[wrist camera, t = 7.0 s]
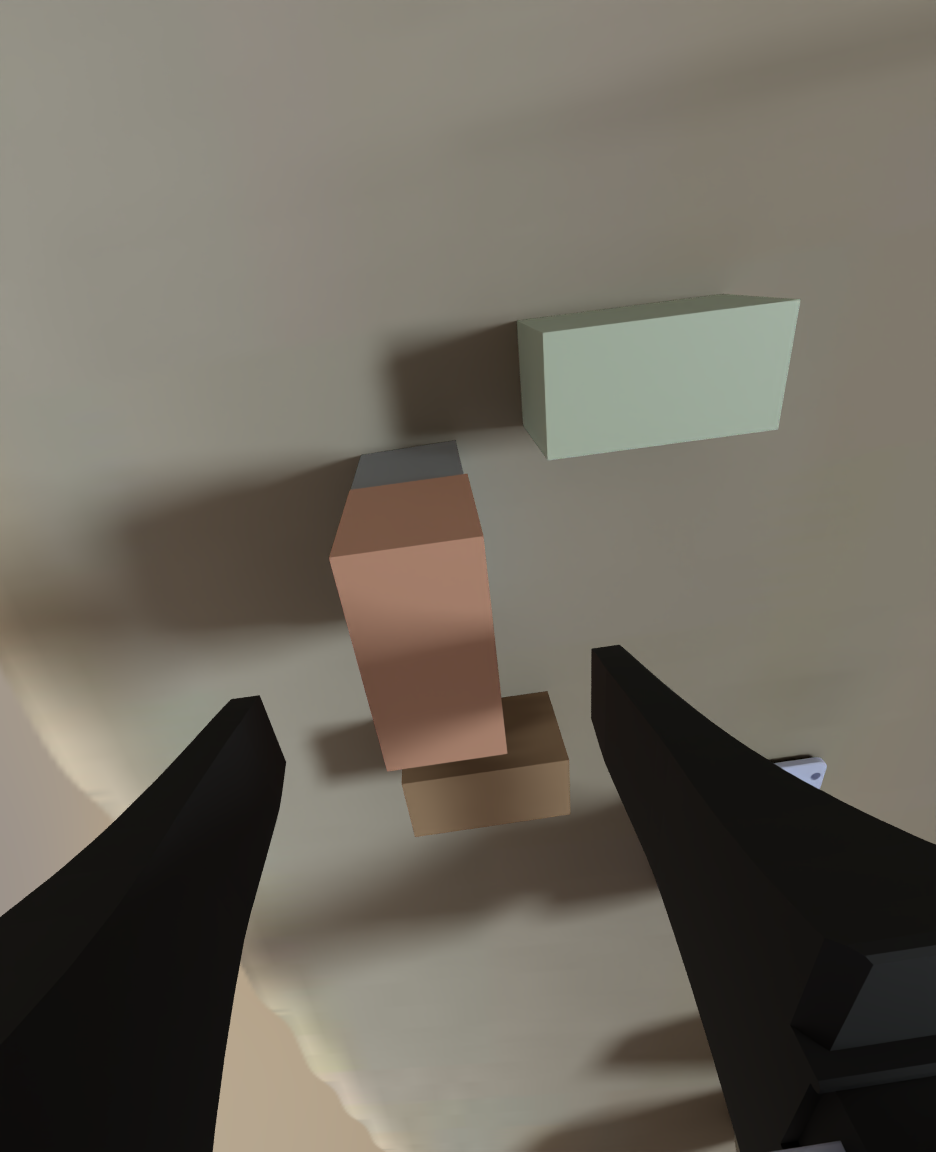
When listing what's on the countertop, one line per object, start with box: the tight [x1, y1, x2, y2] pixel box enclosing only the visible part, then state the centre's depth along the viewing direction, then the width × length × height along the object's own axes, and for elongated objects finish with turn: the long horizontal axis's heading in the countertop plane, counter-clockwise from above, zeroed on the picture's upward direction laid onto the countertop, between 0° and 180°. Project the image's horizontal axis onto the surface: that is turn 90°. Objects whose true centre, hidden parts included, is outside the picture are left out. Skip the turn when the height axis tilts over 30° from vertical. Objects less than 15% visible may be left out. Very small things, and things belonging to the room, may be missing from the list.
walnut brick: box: [402, 691, 570, 837], centre depth 23 cm, size 6×3×4 cm, turn 96°
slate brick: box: [351, 440, 463, 490], centre depth 18 cm, size 6×3×4 cm, turn 8°
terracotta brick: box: [329, 474, 507, 771], centre depth 14 cm, size 6×3×4 cm, turn 6°
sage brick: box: [517, 294, 801, 460], centre depth 16 cm, size 6×3×4 cm, turn 96°
